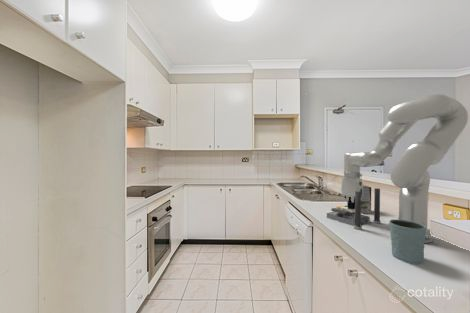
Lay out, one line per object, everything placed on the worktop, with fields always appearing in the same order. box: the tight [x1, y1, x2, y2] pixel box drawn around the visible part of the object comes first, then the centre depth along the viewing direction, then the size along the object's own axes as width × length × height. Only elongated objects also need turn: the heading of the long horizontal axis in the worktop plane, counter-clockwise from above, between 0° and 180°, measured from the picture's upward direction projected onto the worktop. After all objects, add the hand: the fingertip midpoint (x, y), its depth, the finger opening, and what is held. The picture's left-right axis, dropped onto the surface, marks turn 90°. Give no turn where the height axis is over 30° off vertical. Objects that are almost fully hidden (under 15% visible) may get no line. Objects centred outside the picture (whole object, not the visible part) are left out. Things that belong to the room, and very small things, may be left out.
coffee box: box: [361, 184, 372, 215], centre depth 132 cm, size 9×6×16 cm
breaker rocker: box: [336, 205, 355, 213], centre depth 118 cm, size 9×4×2 cm, turn 29°
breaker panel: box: [326, 205, 371, 227], centre depth 117 cm, size 16×15×6 cm
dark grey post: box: [372, 187, 382, 225], centre depth 111 cm, size 3×3×18 cm
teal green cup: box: [388, 219, 426, 265], centre depth 75 cm, size 10×10×12 cm
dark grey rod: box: [353, 191, 363, 231], centre depth 103 cm, size 3×3×18 cm
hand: (351, 208), depth 115 cm, fingers closed
